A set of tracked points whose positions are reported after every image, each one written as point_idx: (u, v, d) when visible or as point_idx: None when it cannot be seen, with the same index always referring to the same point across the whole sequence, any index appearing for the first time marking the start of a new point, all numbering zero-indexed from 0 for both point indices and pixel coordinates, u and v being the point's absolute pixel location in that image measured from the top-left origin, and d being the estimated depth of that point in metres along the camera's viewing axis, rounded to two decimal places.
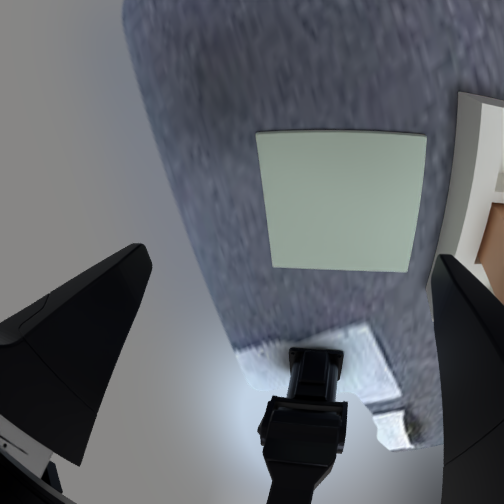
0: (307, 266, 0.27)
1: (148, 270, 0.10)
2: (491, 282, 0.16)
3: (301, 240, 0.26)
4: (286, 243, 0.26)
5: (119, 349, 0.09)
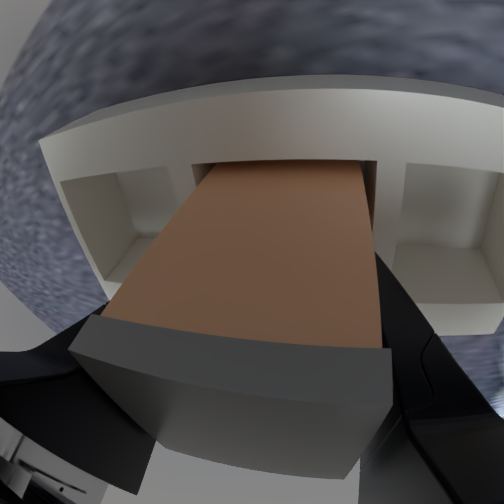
0: None
1: None
2: None
3: None
4: None
5: None
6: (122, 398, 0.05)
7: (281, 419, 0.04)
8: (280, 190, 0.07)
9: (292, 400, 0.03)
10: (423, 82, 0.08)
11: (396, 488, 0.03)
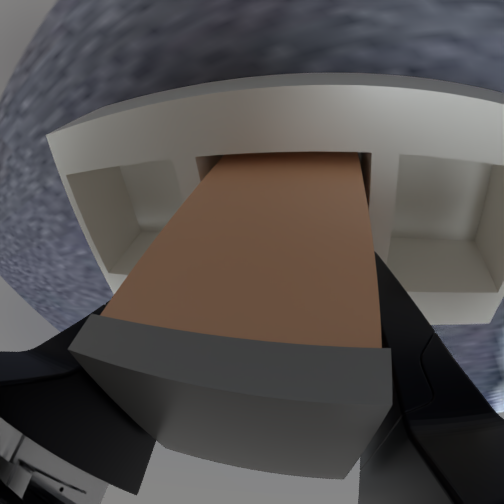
0: None
1: None
2: None
3: None
4: None
5: None
6: (122, 398, 0.05)
7: (281, 419, 0.04)
8: (280, 190, 0.07)
9: (292, 400, 0.03)
10: (416, 79, 0.08)
11: (395, 487, 0.03)
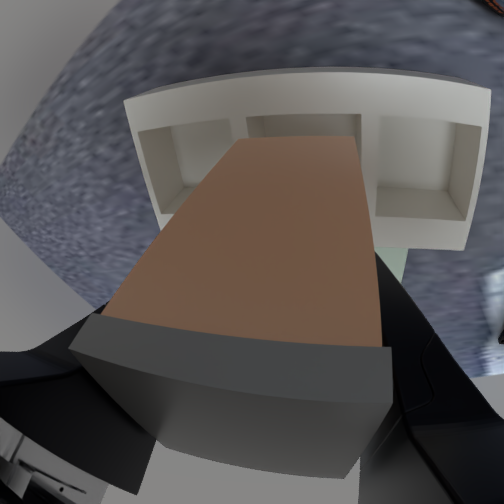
0: None
1: None
2: None
3: None
4: None
5: None
6: (122, 397, 0.05)
7: (281, 417, 0.04)
8: (280, 190, 0.07)
9: (293, 398, 0.03)
10: (393, 70, 0.13)
11: (395, 488, 0.03)
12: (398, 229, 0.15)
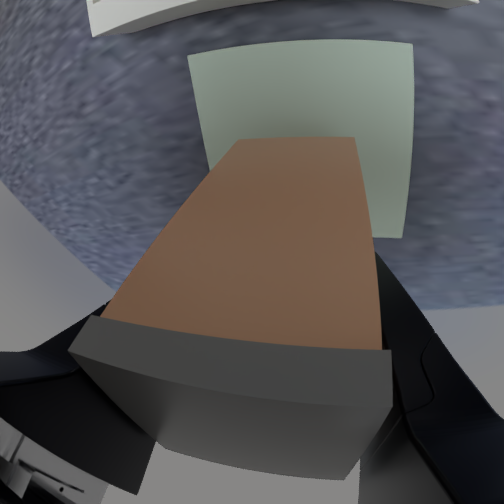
0: (404, 195, 0.17)
1: None
2: None
3: None
4: None
5: None
6: (122, 399, 0.05)
7: (280, 421, 0.04)
8: (281, 191, 0.07)
9: (292, 402, 0.03)
10: None
11: (395, 488, 0.03)
12: None
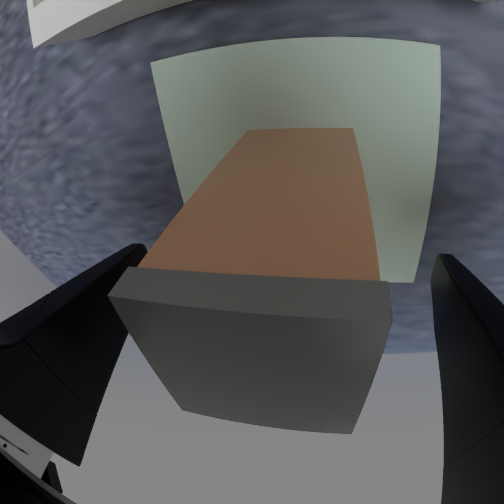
0: (420, 236, 0.14)
1: None
2: None
3: None
4: None
5: (119, 349, 0.09)
6: (152, 346, 0.06)
7: (299, 344, 0.05)
8: (289, 170, 0.08)
9: (310, 319, 0.04)
10: None
11: None
12: None
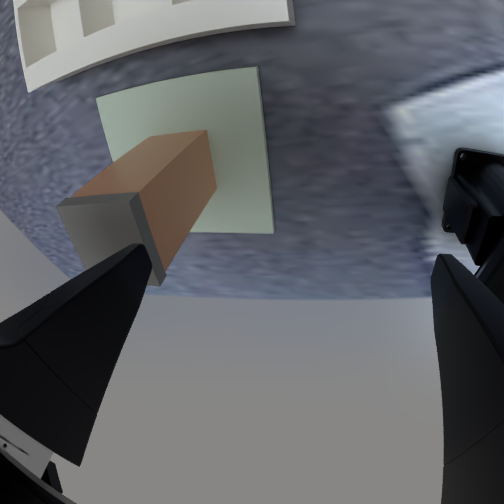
0: (266, 197, 0.21)
1: (148, 270, 0.10)
2: (180, 239, 0.17)
3: (229, 202, 0.22)
4: (236, 217, 0.23)
5: (120, 349, 0.09)
6: (71, 229, 0.13)
7: (109, 216, 0.12)
8: (145, 158, 0.16)
9: (108, 203, 0.12)
10: None
11: None
12: (199, 10, 0.12)
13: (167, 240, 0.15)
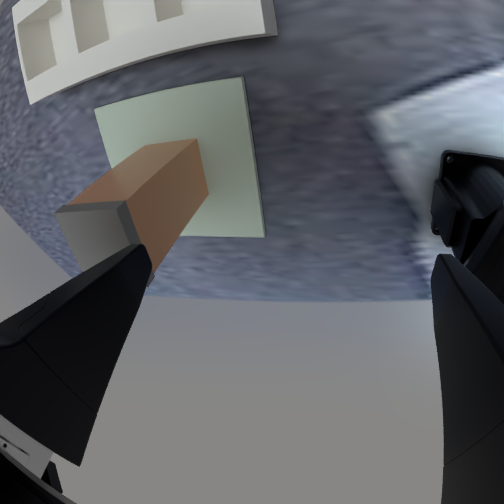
0: (256, 202, 0.22)
1: (148, 270, 0.10)
2: (170, 243, 0.18)
3: (221, 207, 0.23)
4: (227, 221, 0.24)
5: (119, 349, 0.09)
6: (68, 234, 0.15)
7: (100, 222, 0.13)
8: (137, 167, 0.17)
9: (98, 211, 0.13)
10: None
11: None
12: (181, 27, 0.13)
13: (155, 244, 0.16)
